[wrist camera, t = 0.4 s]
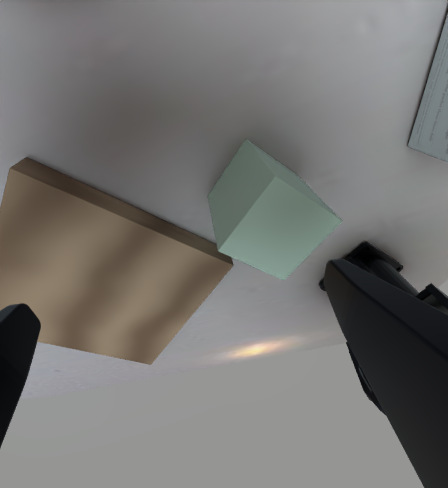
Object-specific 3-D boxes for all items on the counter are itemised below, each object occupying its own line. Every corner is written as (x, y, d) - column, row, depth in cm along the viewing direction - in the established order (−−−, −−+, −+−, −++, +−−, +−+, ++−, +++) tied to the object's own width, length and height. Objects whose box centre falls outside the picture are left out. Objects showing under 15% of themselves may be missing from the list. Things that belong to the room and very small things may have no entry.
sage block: (296, 174, 20) (342, 221, 14) (257, 223, 22) (283, 280, 16) (245, 138, 18) (275, 176, 12) (207, 196, 20) (218, 251, 14)
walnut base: (229, 250, 23) (233, 265, 22) (152, 348, 30) (150, 364, 28) (26, 157, 17) (9, 168, 15) (-14, 309, 23) (-29, 328, 22)
